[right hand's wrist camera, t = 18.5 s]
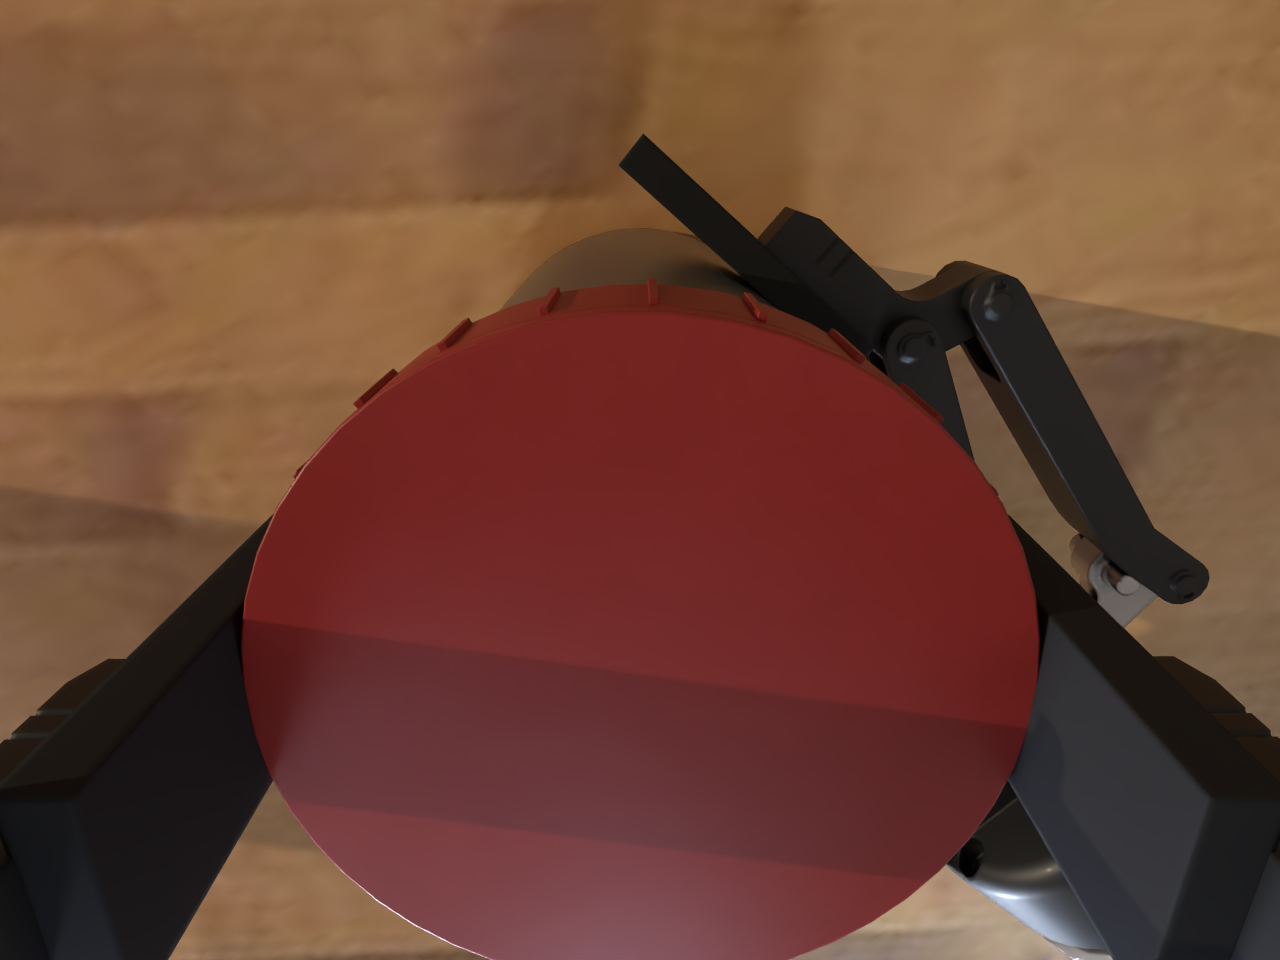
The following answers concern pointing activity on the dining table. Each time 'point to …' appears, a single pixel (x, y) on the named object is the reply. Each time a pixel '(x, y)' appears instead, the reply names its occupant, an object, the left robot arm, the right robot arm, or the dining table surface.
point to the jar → (635, 265)
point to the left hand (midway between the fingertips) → (490, 329)
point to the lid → (640, 634)
